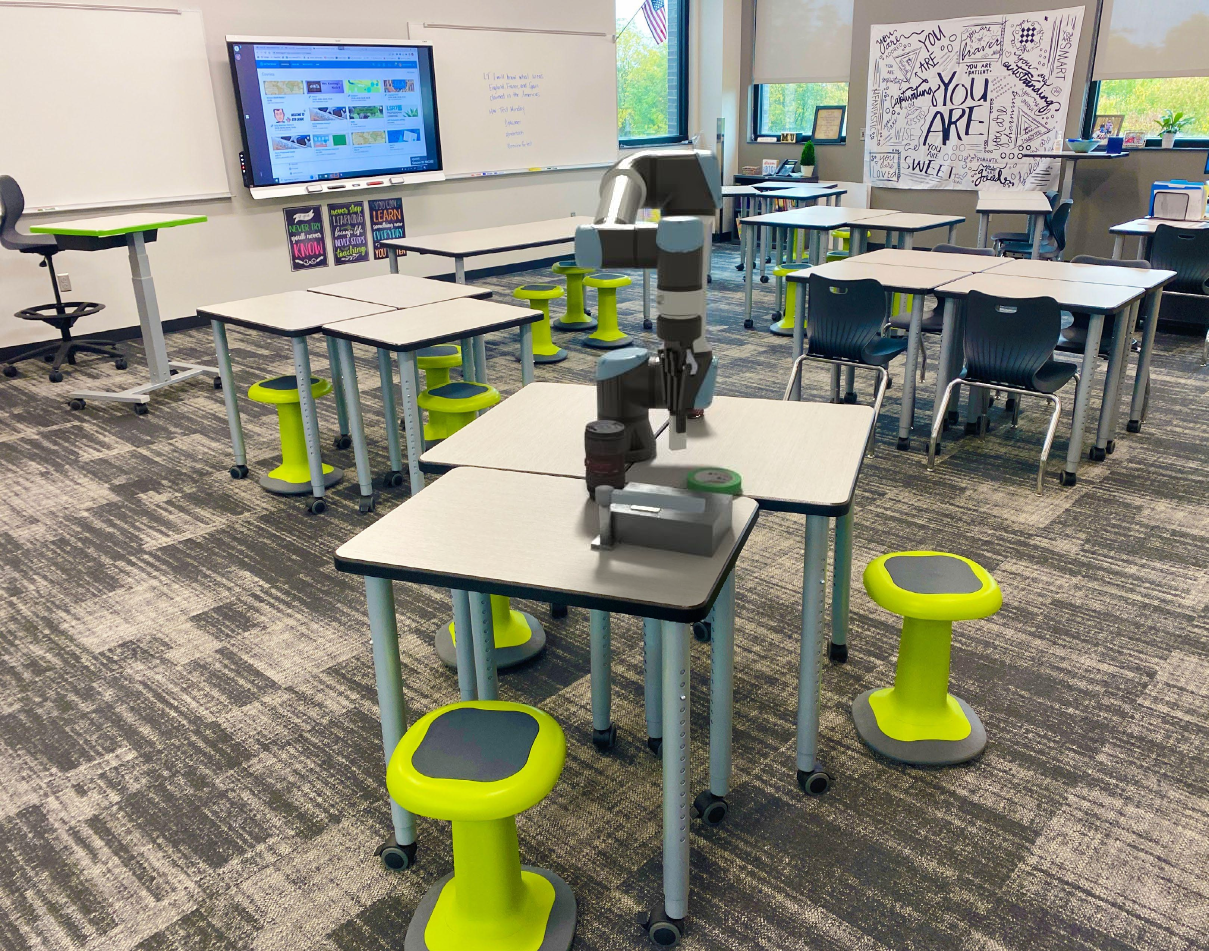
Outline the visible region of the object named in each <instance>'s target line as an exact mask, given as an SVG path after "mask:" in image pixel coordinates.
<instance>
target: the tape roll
mask: <svg viewBox="0 0 1209 951" xmlns="http://www.w3.org/2000/svg"><path fill="white" fill-rule="evenodd" d="M708 481H709V482H708ZM712 481H715V482H721V483H710V482H712ZM686 489H688V490H696V491H704V492H712V493H719V494H727V495H733V496H735V495H737V494H739V493H740V492H741V490H742V476H741V474H739V473H738V472H736V471H734V470H732V469H729V468H723V467H715V466H714V467H712V466H711V467H701V468H696V469H693V470H691V471H689V472H688V473H687V474H686Z"/></svg>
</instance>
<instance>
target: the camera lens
mask: <svg viewBox="0 0 1209 951" xmlns="http://www.w3.org/2000/svg"><path fill="white" fill-rule="evenodd" d="M584 428H585V430H584V434H583V437H584V441H583V442H584V443H583V446H584V453H585V457H584V461H583V462H584V465H583V466H584V467H585V483H586V491H587V492H588V497H589V499H590V500H591V501H592V502H593V501H594V502H596V495H595V488H596V487H598V486H603V485H607V486H612V487H613V488H614V489H617V490H623V489H624V488H625V487H626V486H625V485H626V464H625V448H626V433H625V429H624V425H623V424H621V423H619V422H616V421H610V420H600V421H597V420H594V421H590V422H587V424H585V427H584Z"/></svg>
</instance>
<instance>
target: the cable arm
mask: <svg viewBox="0 0 1209 951" xmlns="http://www.w3.org/2000/svg"><path fill="white" fill-rule="evenodd" d="M595 495H596V501H595V503H596V504H597V505H598V506H599V505H610V504H613V503H615V504H624V505H633V506H642V507H651V508H660V509H669V510H678V511H687V512H696V513H703V511H704V510H705V499H702V498H692V497H683V496H674V495H664V494H655V493H645V492H636V491H626V490H617V489H614V488H613V487H612V486H607V485H603V486H598V487H596V488H595Z"/></svg>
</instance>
